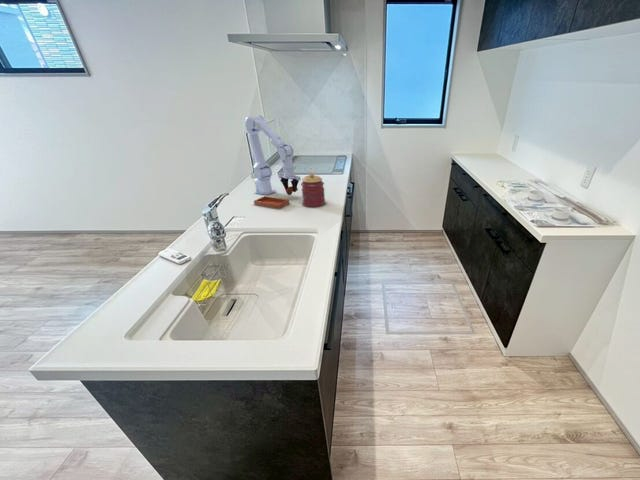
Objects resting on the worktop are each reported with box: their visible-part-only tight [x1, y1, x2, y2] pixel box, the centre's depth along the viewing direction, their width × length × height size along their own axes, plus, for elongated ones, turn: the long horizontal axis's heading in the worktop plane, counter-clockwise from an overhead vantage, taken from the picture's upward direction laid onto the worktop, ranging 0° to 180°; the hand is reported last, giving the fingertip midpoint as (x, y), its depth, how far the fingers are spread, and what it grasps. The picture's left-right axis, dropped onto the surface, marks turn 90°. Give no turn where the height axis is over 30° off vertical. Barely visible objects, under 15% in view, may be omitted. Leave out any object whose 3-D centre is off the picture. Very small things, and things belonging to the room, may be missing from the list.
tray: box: [253, 195, 290, 210], centre depth 182 cm, size 18×10×2 cm, turn 66°
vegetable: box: [285, 185, 299, 196], centre depth 189 cm, size 4×5×12 cm
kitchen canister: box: [300, 172, 326, 208], centre depth 179 cm, size 13×13×18 cm
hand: (290, 191), depth 189 cm, fingers closed on vegetable, 5 cm apart
